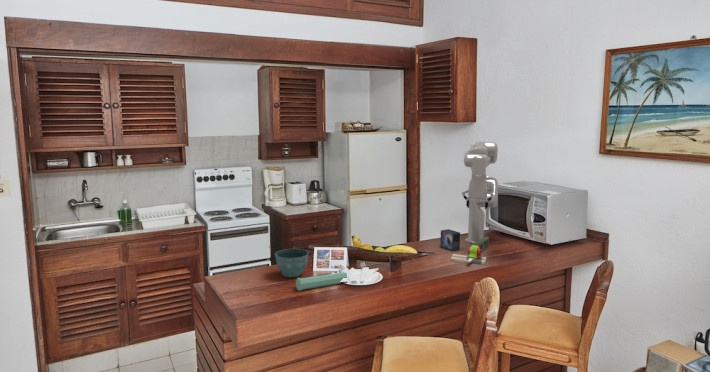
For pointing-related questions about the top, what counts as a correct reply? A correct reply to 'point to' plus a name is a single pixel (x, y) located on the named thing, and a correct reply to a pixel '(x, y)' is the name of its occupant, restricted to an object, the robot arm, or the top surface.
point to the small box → (450, 240)
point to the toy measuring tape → (473, 253)
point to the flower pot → (291, 261)
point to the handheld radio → (482, 243)
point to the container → (319, 281)
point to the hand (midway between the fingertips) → (476, 208)
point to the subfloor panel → (465, 257)
